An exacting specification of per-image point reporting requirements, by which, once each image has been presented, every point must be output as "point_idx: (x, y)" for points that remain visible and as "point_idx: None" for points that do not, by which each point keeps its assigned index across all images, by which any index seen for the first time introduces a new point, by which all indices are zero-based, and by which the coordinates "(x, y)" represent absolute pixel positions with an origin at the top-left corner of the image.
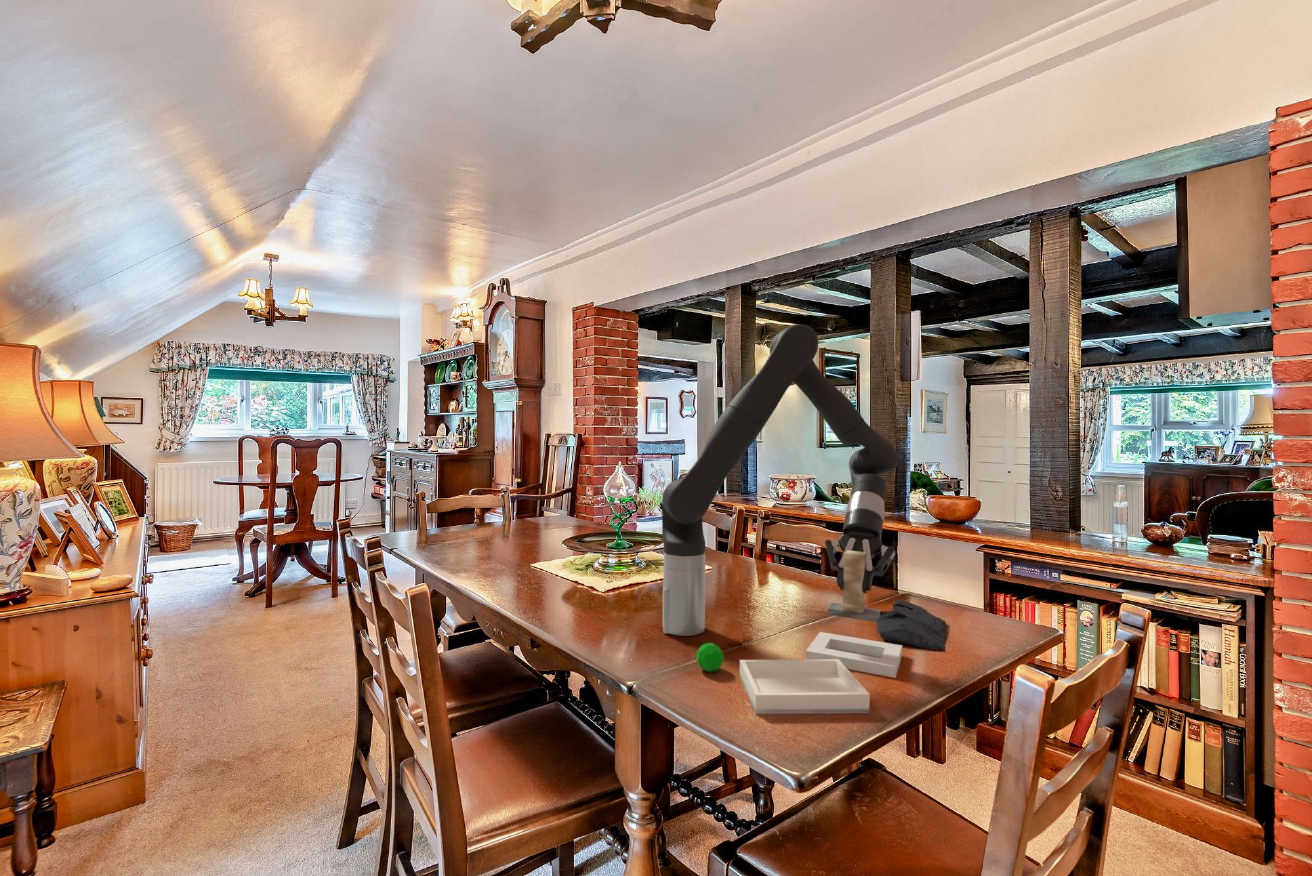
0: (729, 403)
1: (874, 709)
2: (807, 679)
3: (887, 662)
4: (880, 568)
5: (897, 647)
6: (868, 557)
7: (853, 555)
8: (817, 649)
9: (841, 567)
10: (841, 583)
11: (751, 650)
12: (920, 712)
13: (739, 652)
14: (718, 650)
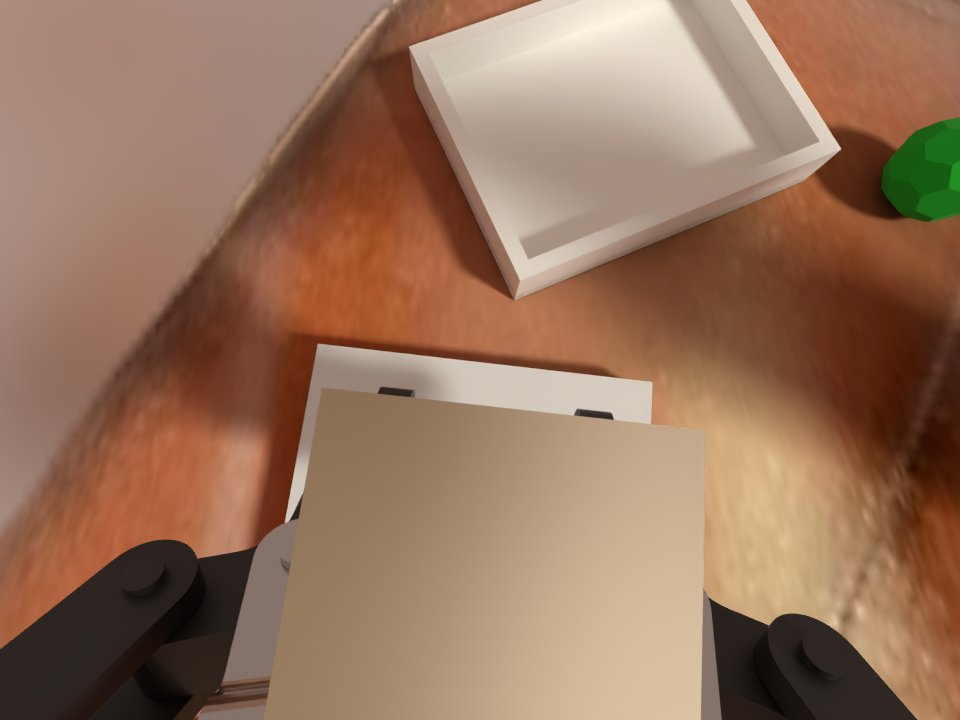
0: None
1: (401, 115)
2: (602, 195)
3: (344, 377)
4: (143, 554)
5: None
6: (247, 712)
7: (518, 414)
8: (613, 414)
9: None
10: (593, 411)
11: (850, 416)
12: (279, 140)
13: (882, 379)
14: (939, 146)
